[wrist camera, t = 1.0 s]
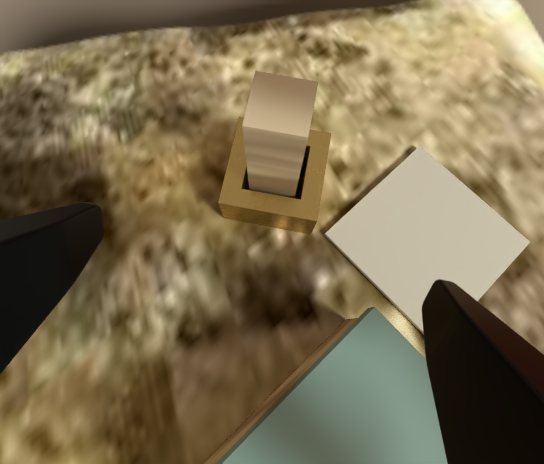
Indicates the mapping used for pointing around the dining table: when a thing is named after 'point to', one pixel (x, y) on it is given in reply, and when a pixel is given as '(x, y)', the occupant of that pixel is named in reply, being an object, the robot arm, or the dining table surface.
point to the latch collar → (271, 207)
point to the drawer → (346, 405)
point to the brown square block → (277, 131)
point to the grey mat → (425, 235)
